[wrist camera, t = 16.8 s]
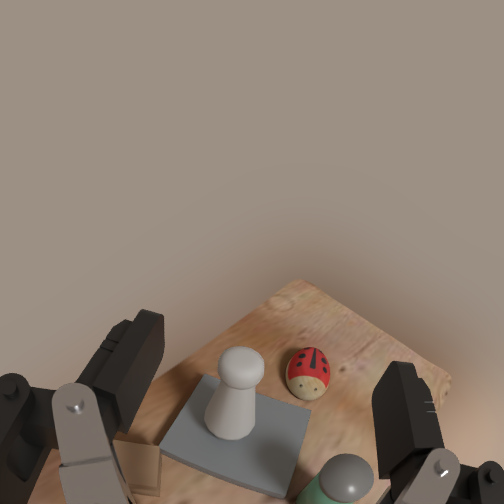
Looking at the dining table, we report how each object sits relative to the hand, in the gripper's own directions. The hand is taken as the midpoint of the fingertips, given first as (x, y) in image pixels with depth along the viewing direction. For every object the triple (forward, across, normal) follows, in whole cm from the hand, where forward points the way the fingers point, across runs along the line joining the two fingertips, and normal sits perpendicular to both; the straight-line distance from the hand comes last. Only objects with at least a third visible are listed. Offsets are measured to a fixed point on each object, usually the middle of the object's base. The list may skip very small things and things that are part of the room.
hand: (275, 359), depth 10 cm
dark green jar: (+4, -10, +28) cm, 30 cm away
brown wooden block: (+3, +10, +28) cm, 30 cm away
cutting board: (+12, 0, +28) cm, 31 cm away
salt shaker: (+12, +1, +27) cm, 30 cm away
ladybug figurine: (+24, -8, +28) cm, 39 cm away
